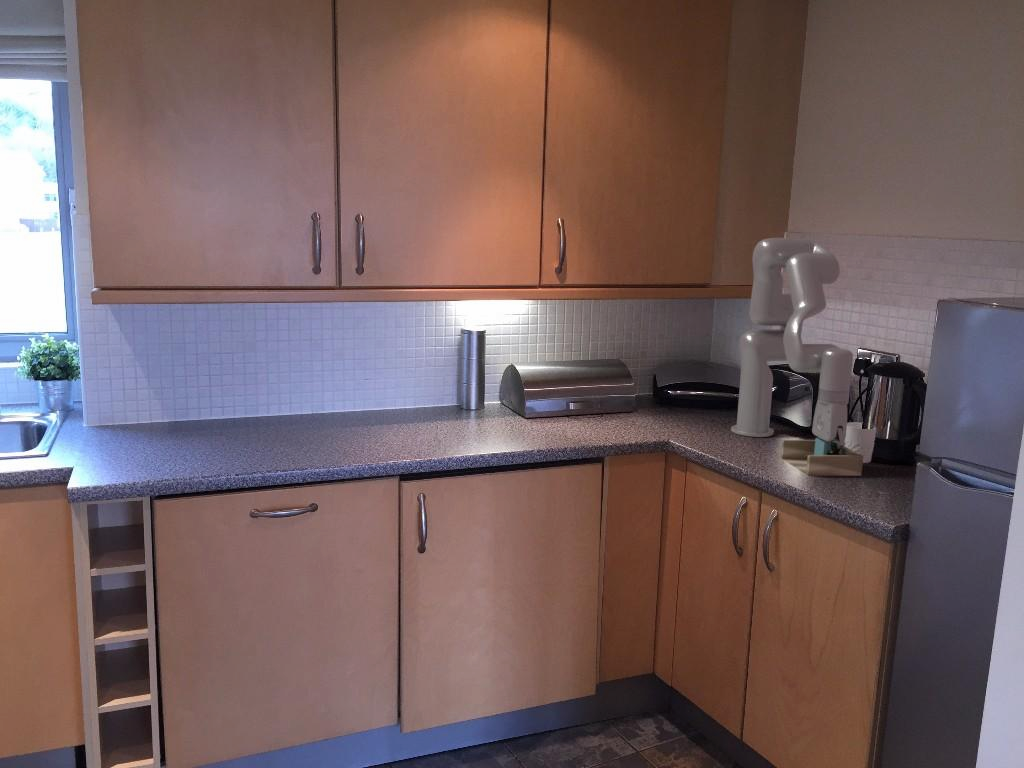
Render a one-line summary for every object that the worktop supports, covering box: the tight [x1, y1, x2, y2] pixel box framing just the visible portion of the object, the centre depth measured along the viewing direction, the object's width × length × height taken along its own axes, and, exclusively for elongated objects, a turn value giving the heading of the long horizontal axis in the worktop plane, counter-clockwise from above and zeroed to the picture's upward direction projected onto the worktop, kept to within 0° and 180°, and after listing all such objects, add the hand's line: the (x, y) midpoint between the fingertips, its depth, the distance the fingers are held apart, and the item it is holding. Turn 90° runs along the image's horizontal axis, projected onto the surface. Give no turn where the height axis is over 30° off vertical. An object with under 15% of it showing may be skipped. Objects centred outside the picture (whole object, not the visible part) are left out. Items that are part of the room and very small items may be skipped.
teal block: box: [814, 437, 842, 455], centre depth 229 cm, size 5×5×7 cm
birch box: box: [780, 439, 864, 477], centre depth 229 cm, size 17×14×6 cm
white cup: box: [844, 421, 877, 464], centre depth 237 cm, size 8×8×10 cm
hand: (826, 463), depth 230 cm, fingers closed on teal block, 5 cm apart
